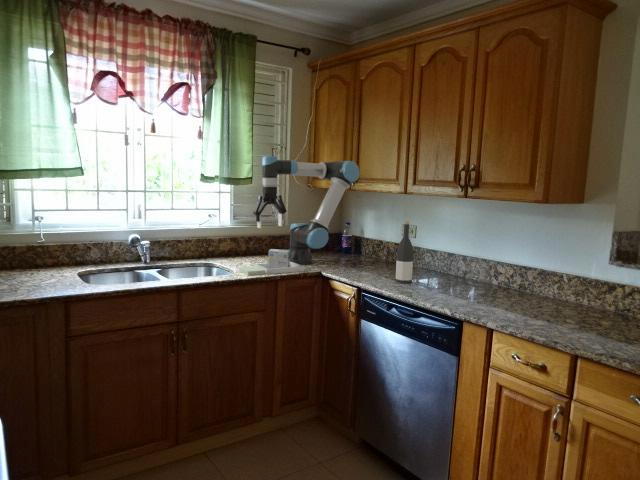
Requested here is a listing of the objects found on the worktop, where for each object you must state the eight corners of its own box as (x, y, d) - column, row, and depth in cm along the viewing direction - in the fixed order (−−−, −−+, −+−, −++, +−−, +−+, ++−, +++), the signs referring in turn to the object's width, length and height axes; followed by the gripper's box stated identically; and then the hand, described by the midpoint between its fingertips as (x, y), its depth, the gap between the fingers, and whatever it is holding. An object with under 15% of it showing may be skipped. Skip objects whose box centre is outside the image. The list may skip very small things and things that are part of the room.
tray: (290, 265, 274) (290, 261, 274) (304, 271, 261) (304, 266, 261) (253, 268, 263) (254, 264, 263) (266, 274, 249) (266, 269, 249)
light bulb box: (290, 269, 265) (290, 249, 263) (287, 271, 258) (288, 251, 257) (270, 268, 266) (270, 248, 264) (267, 270, 259) (268, 250, 258)
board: (254, 269, 260) (254, 266, 259) (264, 274, 249) (264, 270, 249) (238, 271, 255) (238, 267, 255) (248, 275, 245) (248, 271, 244)
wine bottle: (393, 282, 239) (396, 221, 235) (397, 279, 247) (400, 220, 243) (410, 284, 236) (413, 222, 233) (413, 281, 244) (416, 221, 240)
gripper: (284, 185, 265) (284, 224, 268) (245, 186, 248) (246, 228, 251) (293, 185, 259) (293, 225, 262) (254, 186, 242) (254, 229, 245)
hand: (270, 227), depth 257 cm, fingers open, 13 cm apart
